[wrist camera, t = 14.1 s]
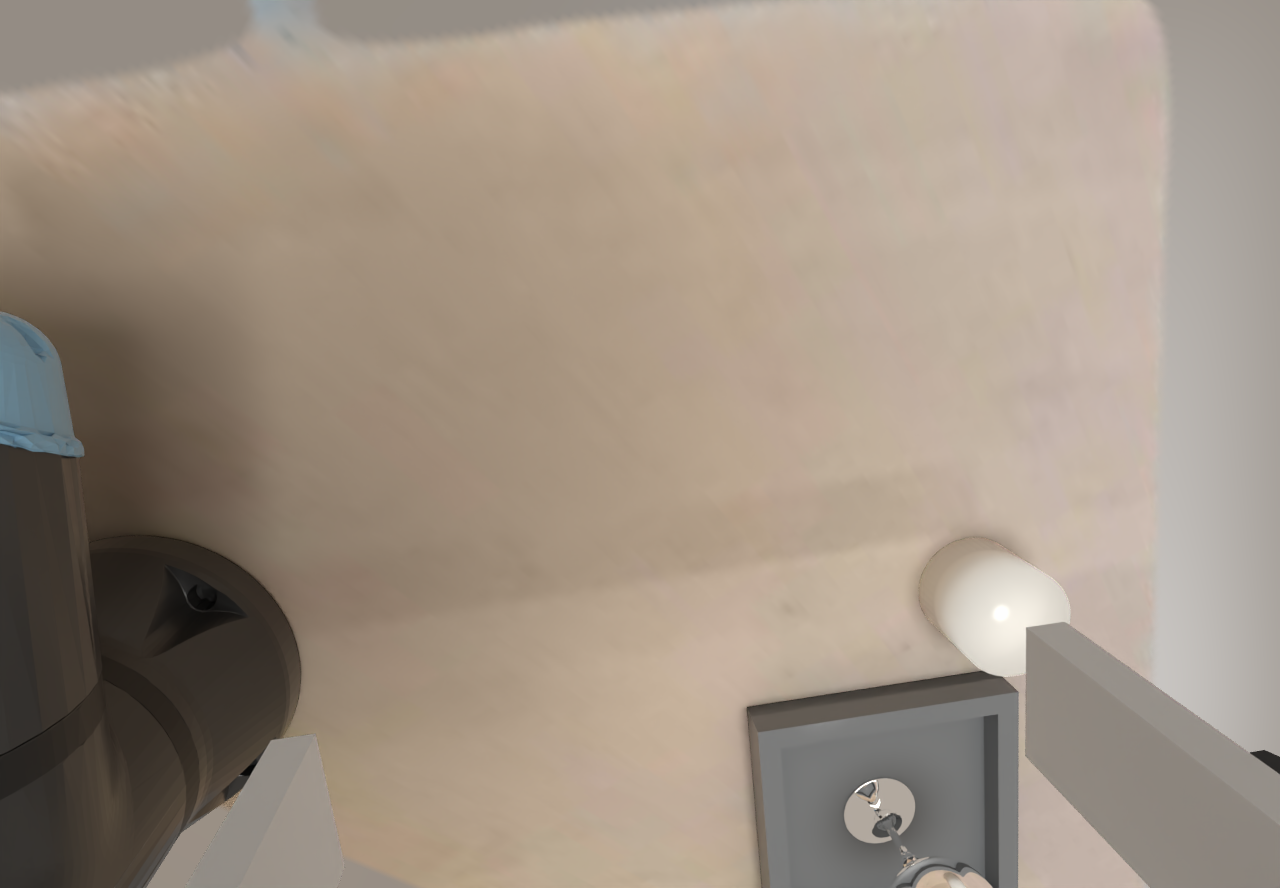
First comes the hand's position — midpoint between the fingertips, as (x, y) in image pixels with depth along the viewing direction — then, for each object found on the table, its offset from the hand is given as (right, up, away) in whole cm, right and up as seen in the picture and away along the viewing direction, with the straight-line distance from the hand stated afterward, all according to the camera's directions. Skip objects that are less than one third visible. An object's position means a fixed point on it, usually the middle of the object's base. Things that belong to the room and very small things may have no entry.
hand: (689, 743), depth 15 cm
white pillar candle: (+18, -3, +32) cm, 37 cm away
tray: (+14, -16, +35) cm, 41 cm away
